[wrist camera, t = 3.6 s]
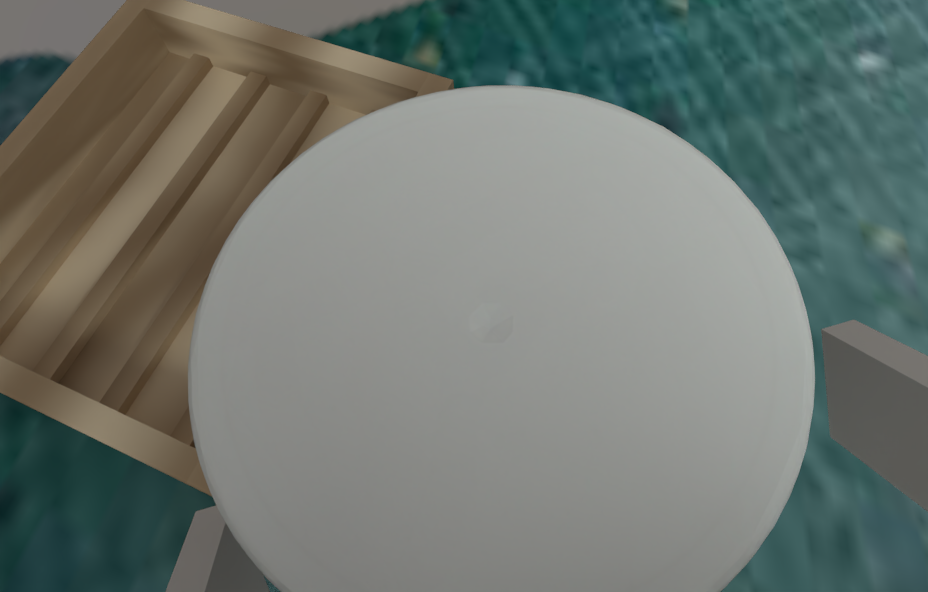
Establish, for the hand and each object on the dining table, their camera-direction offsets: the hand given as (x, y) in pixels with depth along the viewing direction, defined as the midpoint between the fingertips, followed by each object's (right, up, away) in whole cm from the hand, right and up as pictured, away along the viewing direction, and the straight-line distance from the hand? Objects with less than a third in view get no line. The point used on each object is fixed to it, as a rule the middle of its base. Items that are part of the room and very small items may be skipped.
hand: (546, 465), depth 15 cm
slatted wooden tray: (-12, +6, +13) cm, 19 cm away
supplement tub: (0, -3, +9) cm, 9 cm away
